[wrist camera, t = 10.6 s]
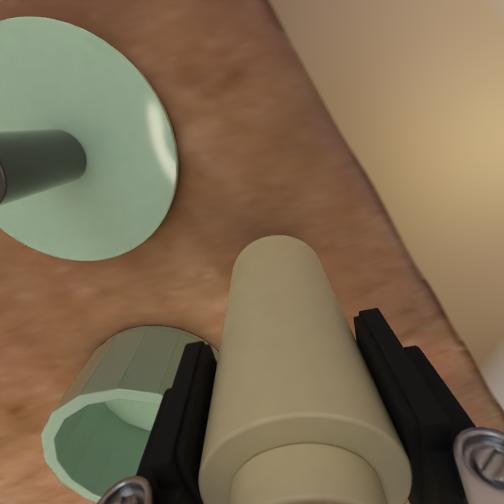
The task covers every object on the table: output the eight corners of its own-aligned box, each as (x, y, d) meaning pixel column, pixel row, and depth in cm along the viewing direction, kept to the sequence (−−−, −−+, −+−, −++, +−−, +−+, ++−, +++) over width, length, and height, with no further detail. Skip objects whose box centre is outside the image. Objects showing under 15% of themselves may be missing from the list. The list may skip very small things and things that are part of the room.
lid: (-93, 61, 16) (-331, 20, 10) (132, -11, 15) (35, -113, 8) (29, 271, 21) (-74, 340, 14) (207, 231, 20) (183, 286, 13)
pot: (63, 341, 23) (4, 409, 18) (211, 311, 22) (197, 374, 17) (123, 443, 28) (91, 522, 22) (250, 423, 26) (248, 501, 21)
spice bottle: (222, 245, 15) (111, 629, 4) (314, 225, 15) (519, 593, 3) (244, 321, 17) (217, 744, 5) (328, 305, 16) (493, 732, 5)
